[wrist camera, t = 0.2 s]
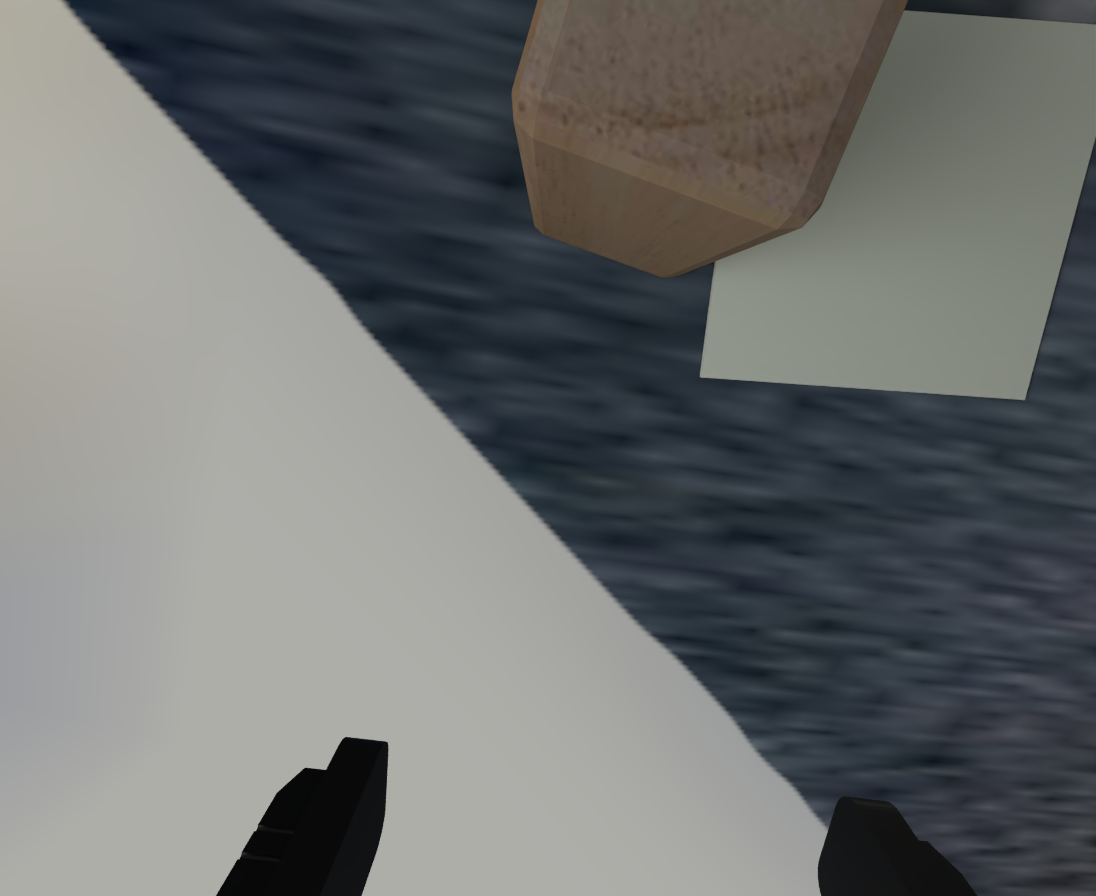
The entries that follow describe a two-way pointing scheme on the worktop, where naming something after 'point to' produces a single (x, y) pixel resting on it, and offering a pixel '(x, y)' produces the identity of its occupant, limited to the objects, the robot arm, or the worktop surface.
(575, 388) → the worktop surface
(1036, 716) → the worktop surface
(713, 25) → the wooden block
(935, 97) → the mat
